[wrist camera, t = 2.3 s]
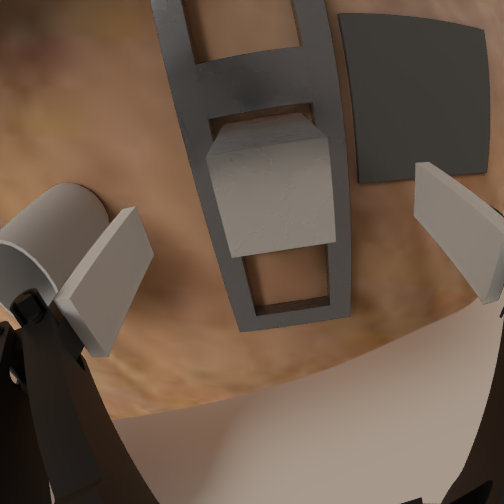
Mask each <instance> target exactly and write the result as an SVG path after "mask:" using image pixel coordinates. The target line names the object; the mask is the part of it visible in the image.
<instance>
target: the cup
mask: <svg viewBox="0 0 504 504" xmlns="http://www.w3.org/2000/svg"><path fill="white" fill-rule="evenodd" d="M109 225H110V222H109V218H108V214H107V212H106V210H105V208H104V206H103V204H102V203H101V201H100V200H99V199H98V198H97V196H96V195H95V194H93V193H92V192H91V191H89V190H88V189H87V188H84V187H82V186H80V185H78V184H73V183H60V184H57V185H55V186H53V187H52V188H50V189H48V190H47V191H45V192H44V193H43V194H42V195H40V196H39V197H38V198H37V199H35V200H34V201H33V202H32V203H31V204H29V205H28V206H27V207H26V208H25V209H23V210H22V211H21V212H20V213H19V214H18V215H16V216H15V217H14V218H13V219H12V220H11V221H10V222H9V223H7V224H6V225H5V226H4V227H3V228H2V229H1V230H0V305H1V306H2V307H3V308H4V309H5V310H6V311H7V312H9V313H10V314H11V315H12V316H14V315H13V314H12V312H11V311H10V309H9V308H10V305H11V303H12V302H13V300H14V299H15V298H16V297H17V296H18V295H20V294H21V293H22V292H24V291H26V290H28V289H31V288H37V290H38V292H39V293H40V295H41V296H42V298H43V300H44V301H45V303H46V304H47V306H49V304H50V303H51V302H52V300H53V299H54V297H55V296H56V294H57V293H58V291H59V290H60V289H61V288H62V285H63V284H64V283H65V282H66V280H67V278H68V277H69V276H70V274H71V273H72V272H73V271H74V270H75V269H76V267H77V266H78V264H79V263H80V262H81V260H82V259H83V258H84V256H85V255H86V254H87V252H88V251H89V250H90V249H91V247H92V246H93V245H94V243H95V242H96V241H97V240H98V238H99V237H100V236H101V235H102V233H103V232H104V231H105V230H106V228H107V227H108V226H109Z"/></svg>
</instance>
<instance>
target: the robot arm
mask: <svg viewBox="0 0 504 504" xmlns="http://www.w3.org/2000/svg"><path fill="white" fill-rule="evenodd" d="M414 217H415V218H416V219H417V220H418V222H419V223H420V224H421V225H422V226H423V227H424V228H425V230H426V231H427V232H428V233H429V234H430V235H431V237H432V238H433V239H434V240H435V241H436V242H437V244H438V245H439V246H440V247H441V249H442V250H443V251H444V252H445V253H446V255H447V256H448V257H449V258H450V260H451V261H452V262H453V264H454V265H455V266H456V267H457V269H458V270H459V271H460V273H461V274H462V275H463V277H464V278H465V279H466V281H467V282H468V283H469V285H470V286H471V287H472V289H473V290H474V292H475V293H476V294H477V296H478V297H479V299H480V300H481V302H482V303H483V304H488V303H491V302H494V301H497V300H499V298H500V295H501V292H502V290H503V287H504V216H503V214H501V213H500V212H499V211H498V210H497V209H495V208H493V207H491V206H489V205H488V204H487V203H485V202H484V201H483V200H482V199H480V198H479V197H478V196H476V195H475V194H474V193H473V192H471V191H470V190H469V189H467V188H466V187H464V186H463V185H462V184H460V183H459V182H458V181H456V180H455V179H453V178H452V177H451V176H449V175H448V174H446V173H445V172H443V171H442V170H440V169H439V168H437V167H436V166H434V165H433V164H431V163H430V162H420V163H415V199H414ZM153 256H154V253H153V250H152V248H151V245H150V243H149V240H148V238H147V235H146V232H145V230H144V227H143V224H142V222H141V219H140V216H139V213H138V211H137V208H136V206H134V207H130V208H126V209H122V210H121V211H120V213H119V214H118V215H117V216H116V217H115V219H114V220H113V221H112V222H111V223H110V225H109V226H108V227H107V228H106V230H105V231H104V232H103V233H102V235H101V236H100V237H99V238H98V240H97V241H96V242H95V243H94V245H93V246H92V247H91V249H90V250H89V251H88V252H87V254H86V255H85V256H84V258H83V259H82V260H81V262H80V263H79V264H78V266H77V267H76V269H75V270H74V271H73V272H72V273H71V274H70V276H69V277H68V278H67V280H66V282H65V283H64V284H63V285H62V288H61V289H60V290H59V291H58V293H57V294H56V296H55V297H54V299H53V300H52V302H51V303H50V304H49V306H47V304H46V303H45V301H44V300H43V298H42V296H41V295H40V293H39V292H38V290H37V288H31V289H28V290H26V291H24V292H22V293H21V294H20V295H18V296H17V297H16V298H15V299H14V300H13V302H12V303H11V305H10V308H9V309H10V311H11V312H12V314H13V315H14V317H15V318H16V320H17V321H18V322H19V324H20V325H21V327H22V328H20V329H17V330H14V329H13V328H12V326H11V325H10V324H9V322H8V321H3V322H0V504H52V502H51V495H50V487H49V482H50V485H51V488H52V491H53V494H54V498H55V503H54V504H159V502H158V501H157V499H156V498H155V496H154V495H153V494H152V492H151V490H150V489H149V487H148V486H147V484H146V482H145V481H144V479H143V478H142V476H141V474H140V473H139V471H138V469H137V468H136V466H135V464H134V462H133V461H132V459H131V457H130V455H129V454H128V452H127V450H126V448H125V446H124V444H123V442H122V441H121V439H120V437H119V435H118V433H117V431H116V429H115V427H114V425H113V423H112V421H111V419H110V417H109V414H108V412H107V410H106V408H105V406H104V404H103V401H102V399H101V397H100V394H99V392H98V390H97V387H96V385H95V383H94V380H93V378H92V375H91V373H90V370H89V368H88V365H87V362H86V360H85V359H84V357H83V356H82V355H81V352H82V350H83V348H84V346H85V348H86V349H87V350H88V352H89V353H90V354H91V356H92V357H109V355H110V352H111V350H112V348H113V345H114V343H115V340H116V338H117V335H118V333H119V331H120V328H121V326H122V324H123V321H124V319H125V317H126V314H127V312H128V310H129V308H130V305H131V303H132V301H133V299H134V297H135V294H136V292H137V290H138V288H139V286H140V283H141V281H142V279H143V277H144V275H145V273H146V271H147V269H148V267H149V265H150V262H151V260H152V258H153ZM503 314H504V307H503V309H502V312H501V314H500V318H502V316H503ZM10 372H11V373H12V374H13V375H14V376H15V377H16V378H17V383H16V384H15V383H14V382H13V381H12V380H11V377H10ZM401 504H423V503H422V498H418V499H415V500H412V501H408V502H405V503H401ZM441 504H504V322H503V329H502V336H501V342H500V348H499V353H498V358H497V364H496V368H495V373H494V377H493V381H492V385H491V389H490V394H489V397H488V400H487V404H486V407H485V411H484V414H483V417H482V420H481V423H480V426H479V429H478V432H477V435H476V438H475V440H474V443H473V446H472V449H471V451H470V454H469V456H468V458H467V461H466V463H465V466H464V468H463V470H462V472H461V474H460V475H459V477H458V478H457V479H456V481H455V482H454V483H453V485H452V486H451V487H450V489H449V490H448V492H447V494H446V496H445V497H444V499H443V501H442V503H441Z"/></svg>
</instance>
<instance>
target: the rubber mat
mask: <svg viewBox="0 0 504 504" xmlns="http://www.w3.org/2000/svg"><path fill="white" fill-rule="evenodd" d="M337 15H338V20H339V25H340V30H341V35H342V41H343V46H344V52H345V59H346V65H347V72H348V79H349V86H350V94H351V102H352V111H353V121H354V132H355V144H356V157H357V174H358V183H359V184H367V183H376V182H385V181H394V180H403V179H413V178H415V163H420V162H430V163H431V164H433V165H434V166H436V167H437V168H439V169H440V170H442V171H443V172H445V173H446V174H448V175H460V174H474V173H487V168H488V156H489V140H490V85H489V69H488V58H487V49H486V41H485V34H484V30H482V29H478V28H474V27H470V26H465V25H460V24H456V23H450V22H445V21H439V20H433V19H426V18H418V17H409V16H399V15H386V14H365V13H339V14H337Z"/></svg>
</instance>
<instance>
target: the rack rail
mask: <svg viewBox="0 0 504 504" xmlns="http://www.w3.org/2000/svg"><path fill="white" fill-rule="evenodd" d="M150 1H151V6H152V10H153V15H154V20H155V24H156V29H157V33H158V38H159V42H160V47H161V51H162V55H163V60H164V64H165V68H166V72H167V76H168V81H169V85H170V89H171V93H172V97H173V101H174V105H175V109H176V113H177V117H178V121H179V125H180V128H181V132H182V136H183V140H184V144H185V148H186V151H187V155H188V159H189V163H190V166H191V170H192V174H193V177H194V181H195V184H196V188H197V192H198V195H199V199H200V202H201V206H202V209H203V213H204V216H205V220H206V223H207V227H208V230H209V234H210V237H211V240H212V244H213V247H214V251H215V254H216V257H217V261H218V264H219V267H220V271H221V274H222V277H223V280H224V284H225V287H226V290H227V293H228V297H229V300H230V303H231V306H232V309H233V312H234V316H235V319H236V322H237V325H238V328H239V331H240V332H247V331H255V330H263V329H271V328H279V327H286V326H293V325H300V324H307V323H313V322H319V321H326V320H332V319H337V318H343V317H349V316H350V303H351V221H350V196H349V178H348V163H347V151H346V139H345V129H344V120H343V111H342V103H341V95H340V87H339V80H338V73H337V67H336V61H335V55H334V49H333V43H332V38H331V32H330V27H329V22H328V17H327V12H326V8H325V3H324V0H290V1H291V5H292V10H293V14H294V19H295V24H296V29H297V34H298V39H299V44H300V47H291V48H283V49H275V50H268V51H261V52H255V53H249V54H243V55H238V56H233V57H228V58H223V59H218V60H214V61H209V62H205V63H201V64H198V60H197V56H196V51H195V47H194V42H193V38H192V33H191V29H190V24H189V20H188V15H187V11H186V6H185V2H184V0H150ZM301 103H310V108H311V115H312V122H313V124H314V125H315V126H316V127H317V128H318V129H319V130H320V131H321V132H322V133H323V134H324V135H325V136H326V137H327V138H328V146H329V155H330V165H331V176H332V188H333V201H334V216H335V233H336V242H332V243H326V244H325V252H326V269H327V289H328V296H325V297H319V298H312V299H306V300H299V301H292V302H286V303H279V304H271V305H264V306H257V307H256V305H255V301H254V296H253V292H252V288H251V284H250V280H249V276H248V272H247V268H246V264H245V260H244V256H241V257H234V258H232V257H231V253H230V250H229V246H228V242H227V238H226V235H225V231H224V227H223V223H222V220H221V216H220V212H219V208H218V204H217V200H216V197H215V193H214V189H213V185H212V181H211V177H210V173H209V169H208V165H207V161H206V156H207V154H208V152H209V150H210V148H211V146H212V145H213V143H214V141H215V139H216V138H215V134H214V130H213V125H212V121H211V119H213V118H217V117H222V116H227V115H232V114H237V113H243V112H248V111H254V110H260V109H266V108H272V107H279V106H286V105H293V104H301Z"/></svg>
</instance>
